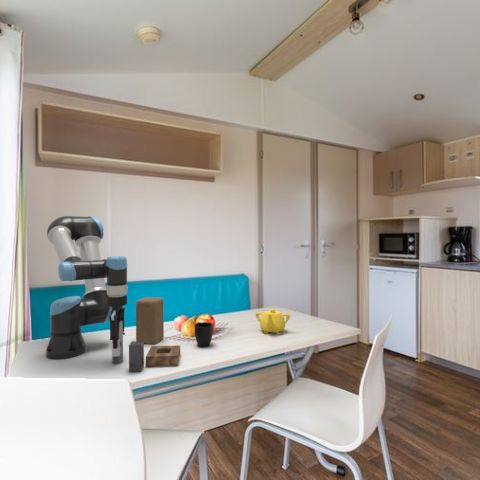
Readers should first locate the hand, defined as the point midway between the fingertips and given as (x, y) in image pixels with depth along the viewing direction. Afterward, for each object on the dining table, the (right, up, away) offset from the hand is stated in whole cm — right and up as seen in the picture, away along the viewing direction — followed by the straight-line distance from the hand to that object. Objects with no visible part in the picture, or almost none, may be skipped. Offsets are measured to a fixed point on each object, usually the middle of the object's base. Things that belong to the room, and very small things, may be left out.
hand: (117, 353), depth 134 cm
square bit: (+10, -4, -7) cm, 13 cm away
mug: (+31, -3, +22) cm, 38 cm away
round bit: (0, -3, 0) cm, 3 cm away
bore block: (+18, -3, +1) cm, 18 cm away
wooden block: (+6, -3, +26) cm, 27 cm away
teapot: (+65, -3, +39) cm, 76 cm away
